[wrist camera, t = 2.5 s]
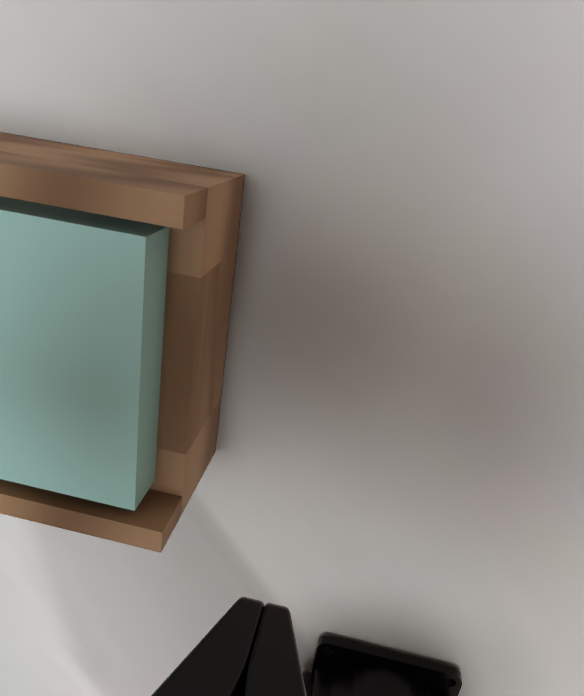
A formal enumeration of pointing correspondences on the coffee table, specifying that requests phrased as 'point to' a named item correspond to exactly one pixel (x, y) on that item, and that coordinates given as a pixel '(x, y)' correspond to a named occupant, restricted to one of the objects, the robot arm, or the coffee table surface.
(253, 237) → the coffee table surface
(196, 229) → the brown wooden box
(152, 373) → the cover plate
